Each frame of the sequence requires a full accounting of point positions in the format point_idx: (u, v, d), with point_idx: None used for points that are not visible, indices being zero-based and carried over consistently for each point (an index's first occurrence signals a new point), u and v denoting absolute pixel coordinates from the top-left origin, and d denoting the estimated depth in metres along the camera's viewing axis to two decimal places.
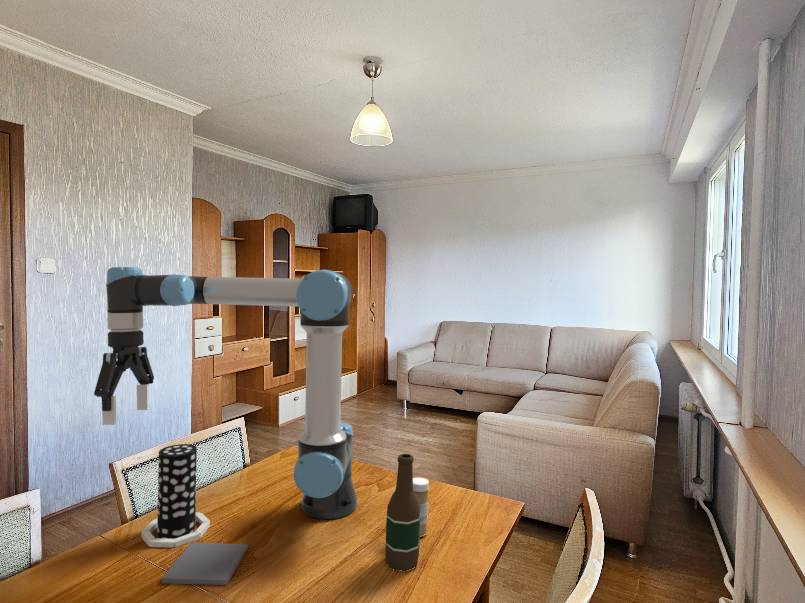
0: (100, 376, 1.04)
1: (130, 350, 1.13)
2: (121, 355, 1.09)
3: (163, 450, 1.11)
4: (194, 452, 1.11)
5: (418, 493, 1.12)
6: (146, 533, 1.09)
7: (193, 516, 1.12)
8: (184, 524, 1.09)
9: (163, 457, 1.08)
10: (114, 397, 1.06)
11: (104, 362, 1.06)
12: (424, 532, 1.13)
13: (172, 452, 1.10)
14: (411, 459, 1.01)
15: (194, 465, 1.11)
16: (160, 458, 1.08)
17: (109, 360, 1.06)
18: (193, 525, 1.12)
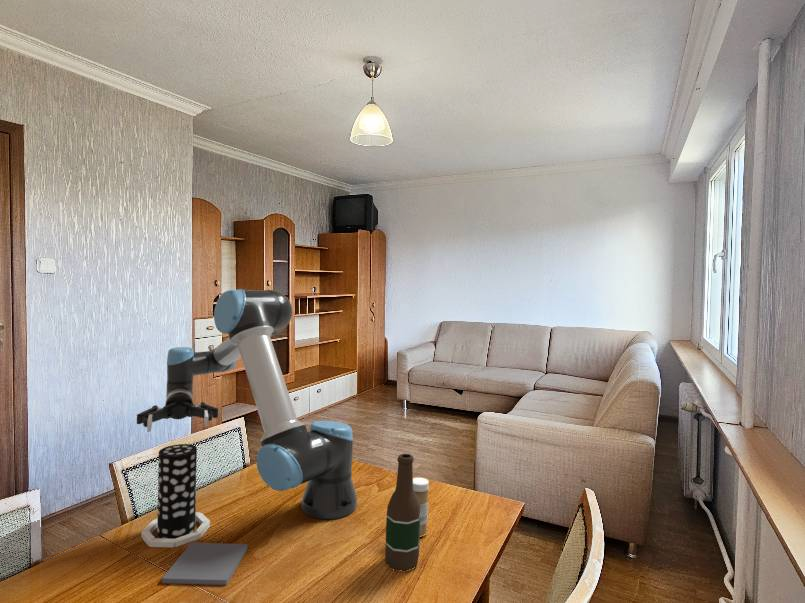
0: None
1: (179, 404, 1.35)
2: (165, 406, 1.33)
3: (163, 450, 1.11)
4: (194, 452, 1.11)
5: (418, 493, 1.12)
6: (146, 533, 1.09)
7: (193, 516, 1.12)
8: (184, 524, 1.09)
9: (163, 457, 1.08)
10: (150, 414, 1.23)
11: None
12: (424, 532, 1.13)
13: (172, 452, 1.10)
14: (411, 459, 1.01)
15: (194, 465, 1.11)
16: (160, 458, 1.08)
17: None
18: (193, 525, 1.12)
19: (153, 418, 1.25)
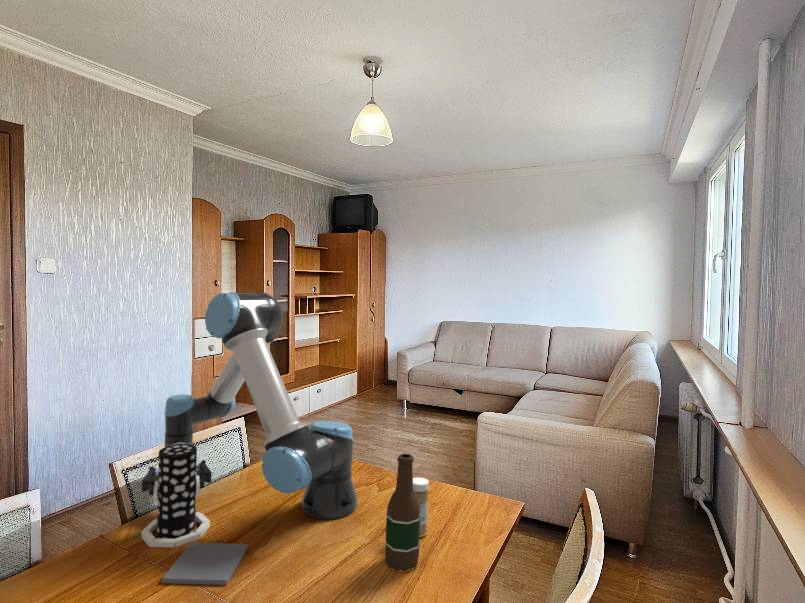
0: None
1: None
2: None
3: (163, 450, 1.11)
4: (194, 452, 1.11)
5: (418, 493, 1.12)
6: (146, 533, 1.09)
7: (193, 516, 1.12)
8: (184, 524, 1.09)
9: (163, 457, 1.08)
10: (156, 481, 1.11)
11: None
12: (424, 532, 1.13)
13: (172, 452, 1.10)
14: (411, 459, 1.01)
15: (194, 465, 1.11)
16: (160, 458, 1.08)
17: None
18: (193, 525, 1.12)
19: None
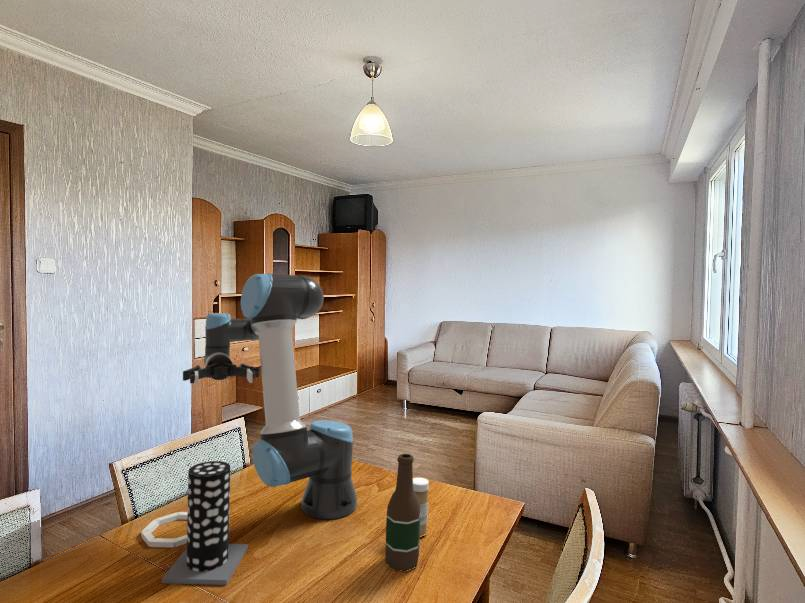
0: None
1: (220, 365, 1.38)
2: None
3: (193, 469, 0.98)
4: (228, 471, 0.98)
5: (418, 493, 1.12)
6: (146, 533, 1.09)
7: (227, 543, 0.99)
8: (217, 553, 0.96)
9: (194, 477, 0.95)
10: (196, 371, 1.26)
11: None
12: (424, 532, 1.13)
13: (203, 471, 0.97)
14: (411, 459, 1.01)
15: (228, 485, 0.99)
16: (190, 478, 0.95)
17: None
18: (227, 553, 0.99)
19: (198, 375, 1.28)
